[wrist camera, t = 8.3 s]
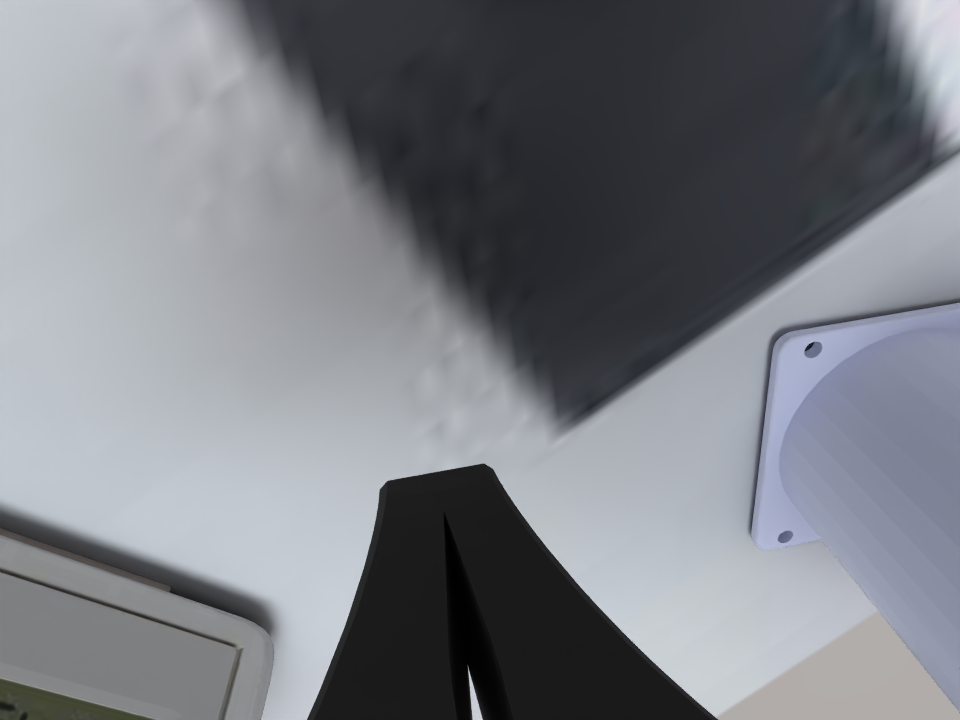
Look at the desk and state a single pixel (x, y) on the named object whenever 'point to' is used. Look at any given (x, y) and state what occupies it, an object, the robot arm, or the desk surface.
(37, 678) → the digital clock
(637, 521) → the desk surface
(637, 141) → the desk surface
